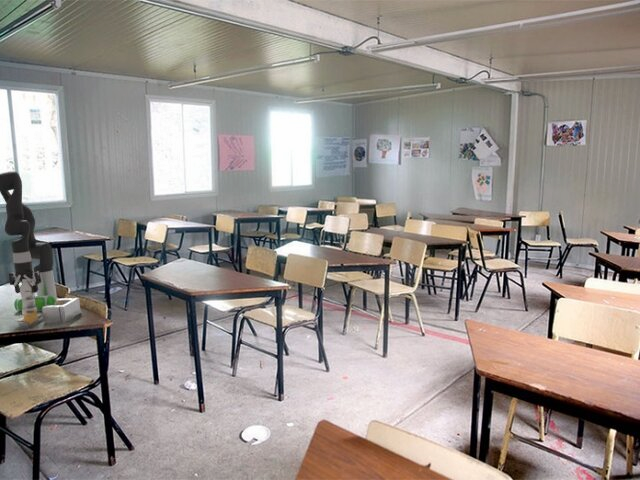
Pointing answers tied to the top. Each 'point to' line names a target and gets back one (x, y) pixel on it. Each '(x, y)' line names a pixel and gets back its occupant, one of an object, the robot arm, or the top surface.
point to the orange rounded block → (30, 316)
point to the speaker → (39, 301)
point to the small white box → (57, 312)
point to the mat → (23, 318)
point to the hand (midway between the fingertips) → (27, 292)
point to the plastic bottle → (27, 296)
